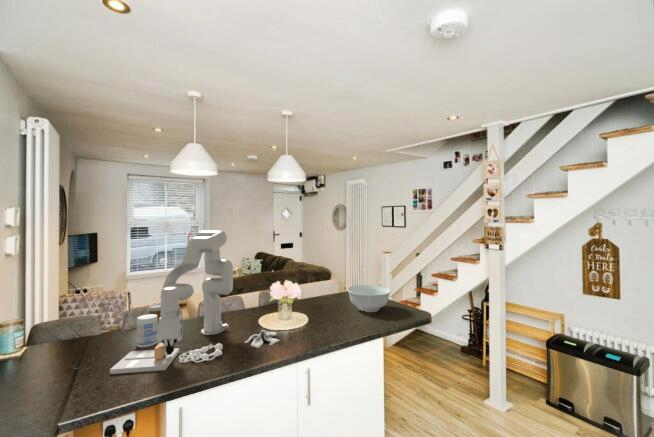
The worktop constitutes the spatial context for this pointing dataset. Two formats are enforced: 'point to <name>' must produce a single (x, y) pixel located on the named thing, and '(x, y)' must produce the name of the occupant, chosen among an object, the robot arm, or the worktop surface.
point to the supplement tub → (147, 330)
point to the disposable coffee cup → (155, 310)
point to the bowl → (368, 297)
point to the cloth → (262, 338)
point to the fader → (159, 351)
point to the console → (143, 362)
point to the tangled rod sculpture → (203, 356)
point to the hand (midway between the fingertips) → (169, 353)
